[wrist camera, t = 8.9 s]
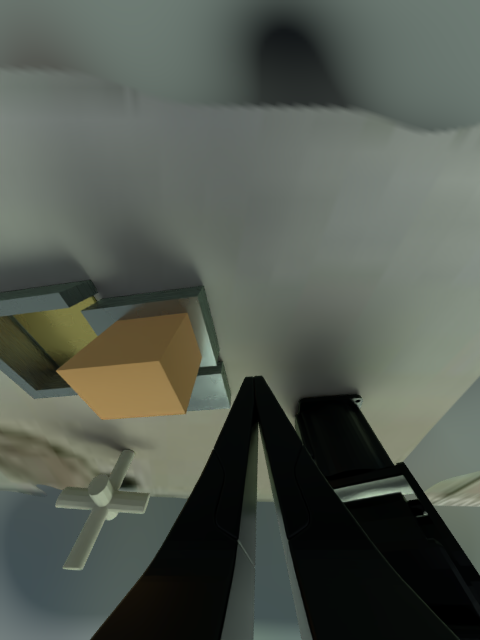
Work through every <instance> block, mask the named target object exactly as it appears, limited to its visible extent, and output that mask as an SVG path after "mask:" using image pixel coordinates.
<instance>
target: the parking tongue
mask: <svg viewBox="0 0 480 640" xmlns="http://www.w3.org/2000/svg"><path fill="white" fill-rule="evenodd" d="M230 406H231V393H230V389H229V385H228V381H227V377H226V373H225V369H224V365H223V361H222V362H217V366H206V367H199V370H198V373H197V377H196V380H195V384H194V387H193V391H192V394H191V398H190V401H189V405H188V408H187V411H197V410H212V409H226V408H230Z"/></svg>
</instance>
